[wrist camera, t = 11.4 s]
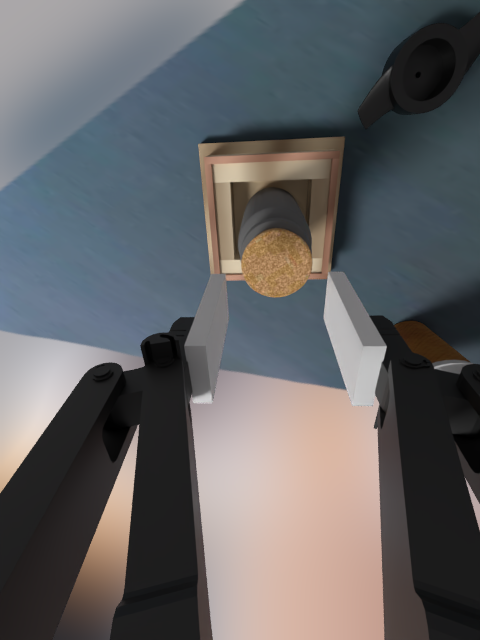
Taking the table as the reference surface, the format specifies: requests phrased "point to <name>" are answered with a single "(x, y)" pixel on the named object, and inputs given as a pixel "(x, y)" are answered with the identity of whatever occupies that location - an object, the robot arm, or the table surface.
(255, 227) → the bottle
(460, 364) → the disposable coffee cup
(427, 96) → the dark winged oval cup
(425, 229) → the table surface
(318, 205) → the holder block
